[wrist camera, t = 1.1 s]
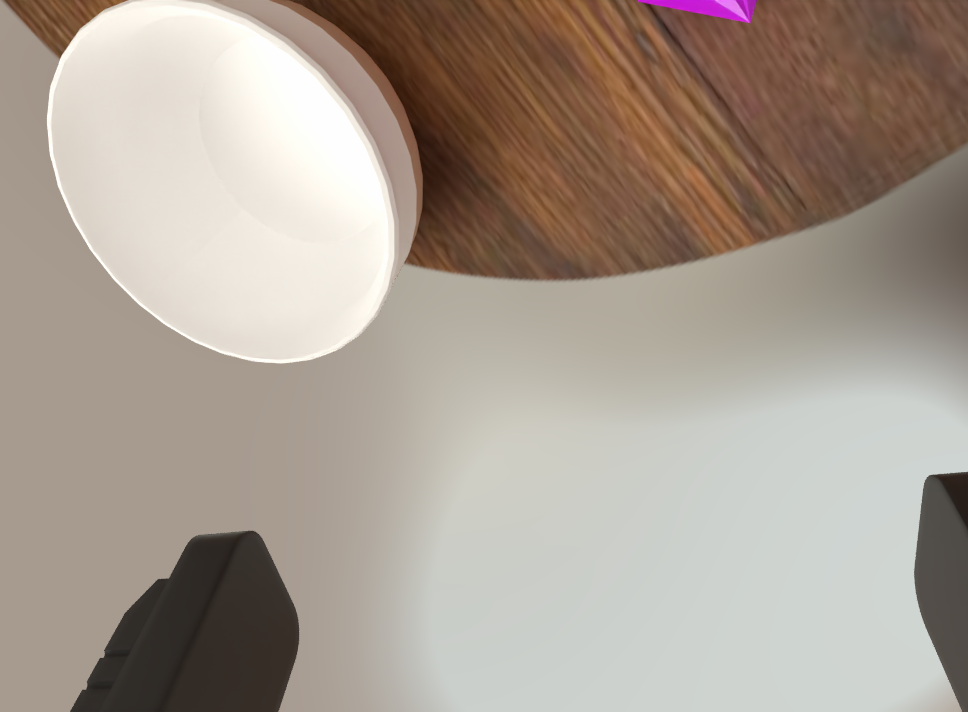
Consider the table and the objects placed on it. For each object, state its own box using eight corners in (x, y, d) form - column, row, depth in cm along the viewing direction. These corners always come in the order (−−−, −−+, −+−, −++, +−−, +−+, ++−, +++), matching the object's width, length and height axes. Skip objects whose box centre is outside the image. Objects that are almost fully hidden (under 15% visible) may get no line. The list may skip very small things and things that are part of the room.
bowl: (530, 155, 37) (478, 231, 31) (336, 333, 47) (266, 419, 40) (261, -132, 34) (141, -111, 28) (110, 123, 43) (-5, 181, 37)
